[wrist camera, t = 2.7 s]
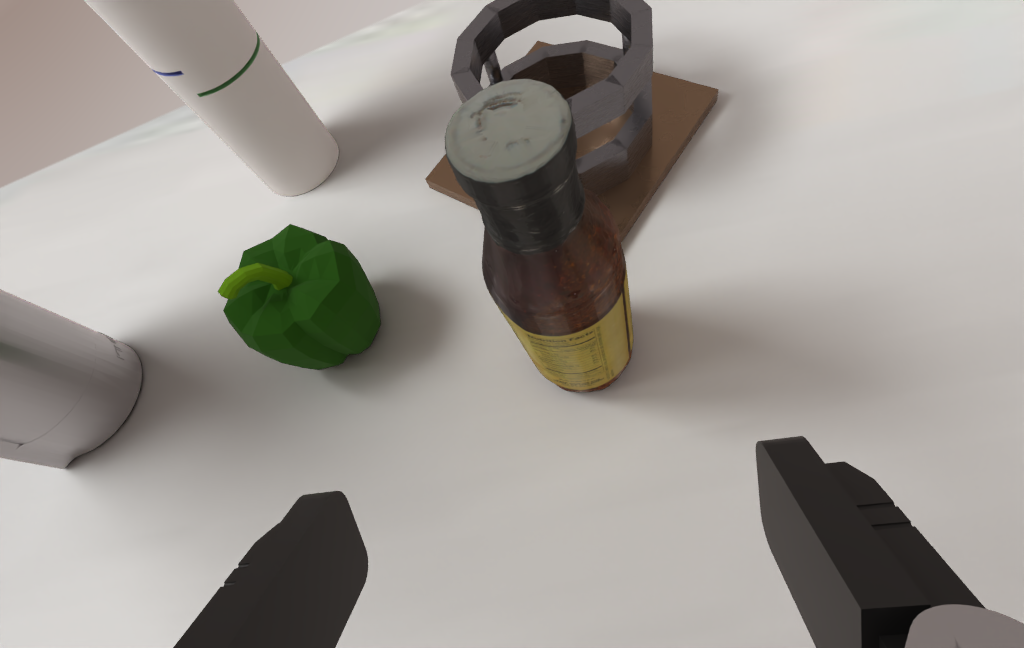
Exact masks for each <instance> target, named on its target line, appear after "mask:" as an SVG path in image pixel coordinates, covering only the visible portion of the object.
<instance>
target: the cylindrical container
mask: <svg viewBox="0 0 1024 648" xmlns="http://www.w3.org/2000/svg"><path fill="white" fill-rule="evenodd" d="M84 1H85V2H86V3H87V4H88V5H89V6H90V7H91V8H92V9H93V10H94V11H95V12H96V13H97V14H98V15H99V16H100V17H101V18H102V19H103V20H104V21H105V22H106V23H107V24H108V25H109V26H110V27H111V28H112V29H113V30H114V31H115V32H116V33H117V34H118V36H120V37H121V38H122V40H123V41H124V42H125V43H126V44H127V45H128V46H129V47H130V48H131V49H132V50H133V51H134V52H135V53H136V54H137V55H138V56H139V57H140V58H141V59H142V60H143V61H144V62H145V63H146V64H147V65H148V66H149V67H150V68H151V69H152V70H153V71H154V72H155V73H156V74H157V75H158V76H159V77H160V78H161V79H162V80H163V81H164V82H165V83H166V84H167V85H168V86H169V87H170V88H171V89H172V90H173V91H174V92H175V93H176V94H177V95H178V96H179V97H180V98H181V100H183V102H184V103H186V105H187V106H188V107H189V108H190V109H191V110H192V111H193V112H194V113H195V114H196V115H197V116H198V117H199V118H200V119H201V120H202V121H203V122H204V123H205V124H206V125H207V126H208V127H209V128H210V129H211V130H212V131H213V132H214V133H215V134H216V135H217V136H218V137H219V138H220V139H221V140H222V141H223V142H224V143H225V144H226V145H227V146H228V147H229V148H230V149H231V150H232V151H233V152H234V153H235V154H236V155H237V156H238V157H239V158H240V159H241V160H242V161H243V162H244V163H245V164H246V166H247V167H248V168H249V169H250V170H251V171H252V172H253V173H254V174H255V175H256V176H257V177H258V178H259V179H260V180H261V181H262V182H263V183H264V184H265V185H266V186H267V187H268V188H269V189H270V190H271V191H272V192H274V193H275V194H278V195H281V196H296V195H301V194H304V193H306V192H309V191H310V190H312V189H314V188H316V187H317V186H318V185H320V184H321V183H322V182H324V180H325V179H326V178H327V177H328V176H329V175H330V174H331V172H332V171H333V170H334V168H335V166H336V164H337V160H338V156H339V149H338V145H337V143H336V141H335V140H334V138H333V137H332V135H331V134H330V133H329V131H328V130H327V129H326V127H325V126H324V124H323V123H322V122H321V120H320V119H319V118H318V116H317V115H316V113H315V112H314V111H313V109H312V108H311V107H310V105H309V104H308V102H307V101H306V100H305V98H304V97H303V95H302V94H301V93H300V91H299V90H298V89H297V87H296V86H295V84H294V83H293V82H292V80H291V79H290V78H289V76H288V75H287V73H286V72H285V71H284V69H283V68H282V67H281V65H280V64H279V63H278V61H277V60H276V58H275V57H274V56H273V54H272V53H271V51H270V50H269V49H268V47H267V46H266V45H265V43H264V42H263V40H262V39H261V38H260V36H259V35H258V34H257V32H256V31H255V29H254V28H253V27H252V25H251V24H250V22H249V21H248V20H247V18H246V17H245V16H244V14H243V13H242V11H241V10H240V9H239V7H238V6H237V5H236V3H235V2H234V1H233V0H84Z"/></svg>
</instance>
